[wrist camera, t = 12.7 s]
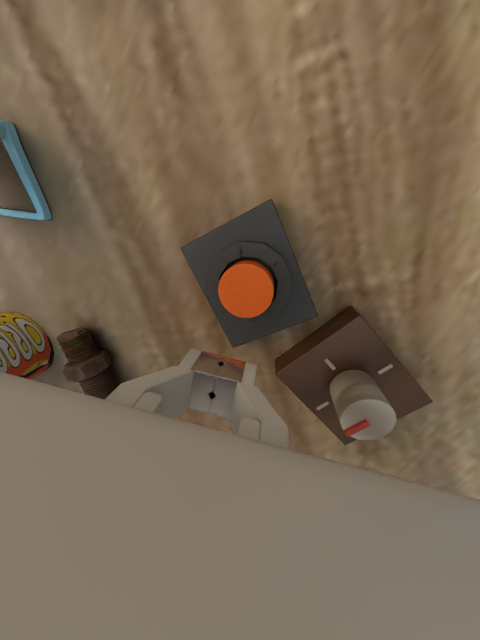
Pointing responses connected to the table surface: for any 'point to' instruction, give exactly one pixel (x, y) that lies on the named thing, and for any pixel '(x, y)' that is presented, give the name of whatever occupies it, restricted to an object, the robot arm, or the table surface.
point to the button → (246, 289)
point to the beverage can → (23, 346)
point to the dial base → (346, 368)
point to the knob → (361, 406)
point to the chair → (23, 175)
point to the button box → (263, 247)
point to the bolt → (86, 363)
